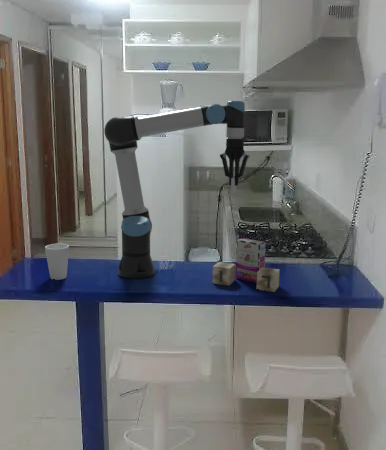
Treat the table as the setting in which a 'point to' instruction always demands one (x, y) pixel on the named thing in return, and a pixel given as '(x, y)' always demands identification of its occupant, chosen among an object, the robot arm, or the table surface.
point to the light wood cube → (268, 279)
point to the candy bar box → (249, 259)
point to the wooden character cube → (223, 273)
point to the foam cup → (57, 260)
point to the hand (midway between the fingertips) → (233, 192)
